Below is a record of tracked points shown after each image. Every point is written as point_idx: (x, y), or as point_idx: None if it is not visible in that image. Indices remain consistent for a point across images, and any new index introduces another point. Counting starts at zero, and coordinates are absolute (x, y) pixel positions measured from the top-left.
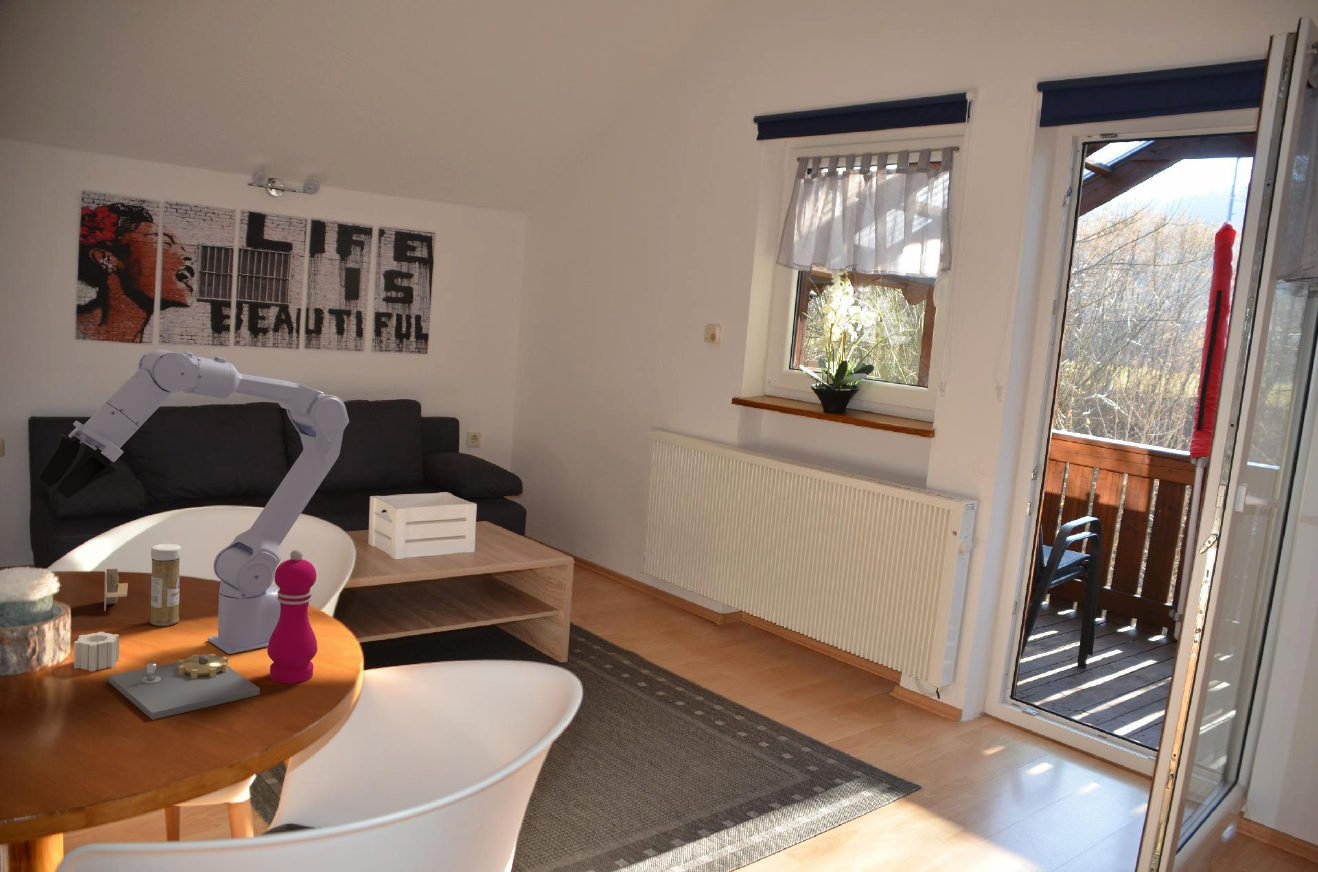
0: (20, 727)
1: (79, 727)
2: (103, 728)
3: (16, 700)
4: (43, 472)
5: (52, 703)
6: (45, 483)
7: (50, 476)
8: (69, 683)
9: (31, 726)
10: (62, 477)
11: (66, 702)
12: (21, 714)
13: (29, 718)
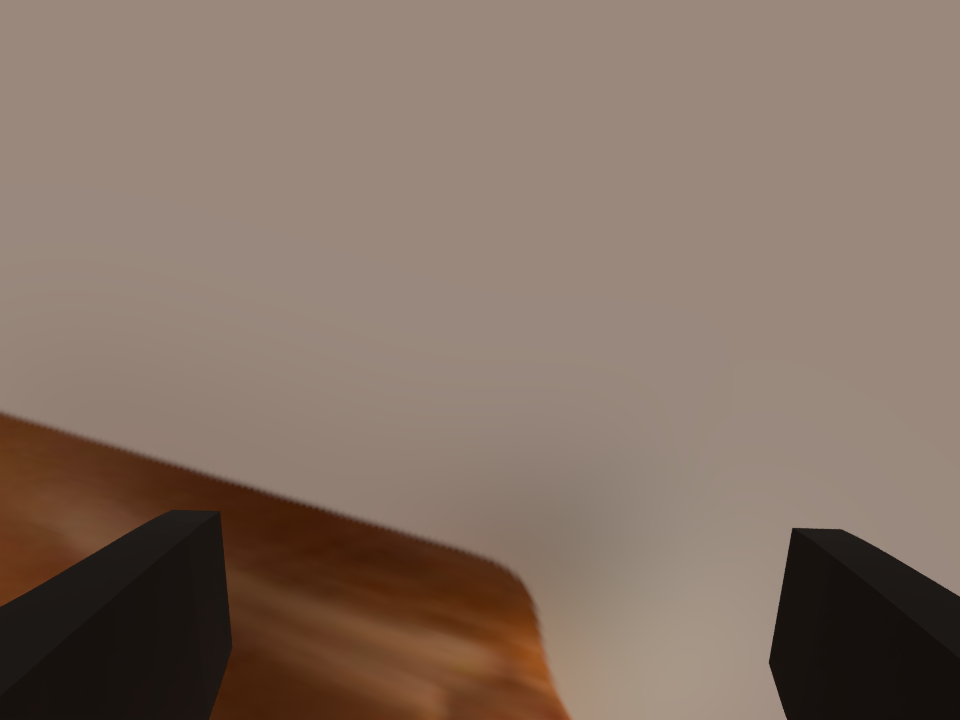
0: (182, 487)
1: None
2: None
3: (364, 532)
4: (834, 570)
5: (282, 602)
6: (778, 609)
7: (816, 660)
8: (402, 696)
9: (169, 509)
10: (127, 565)
11: (263, 636)
12: (262, 513)
13: (222, 521)
